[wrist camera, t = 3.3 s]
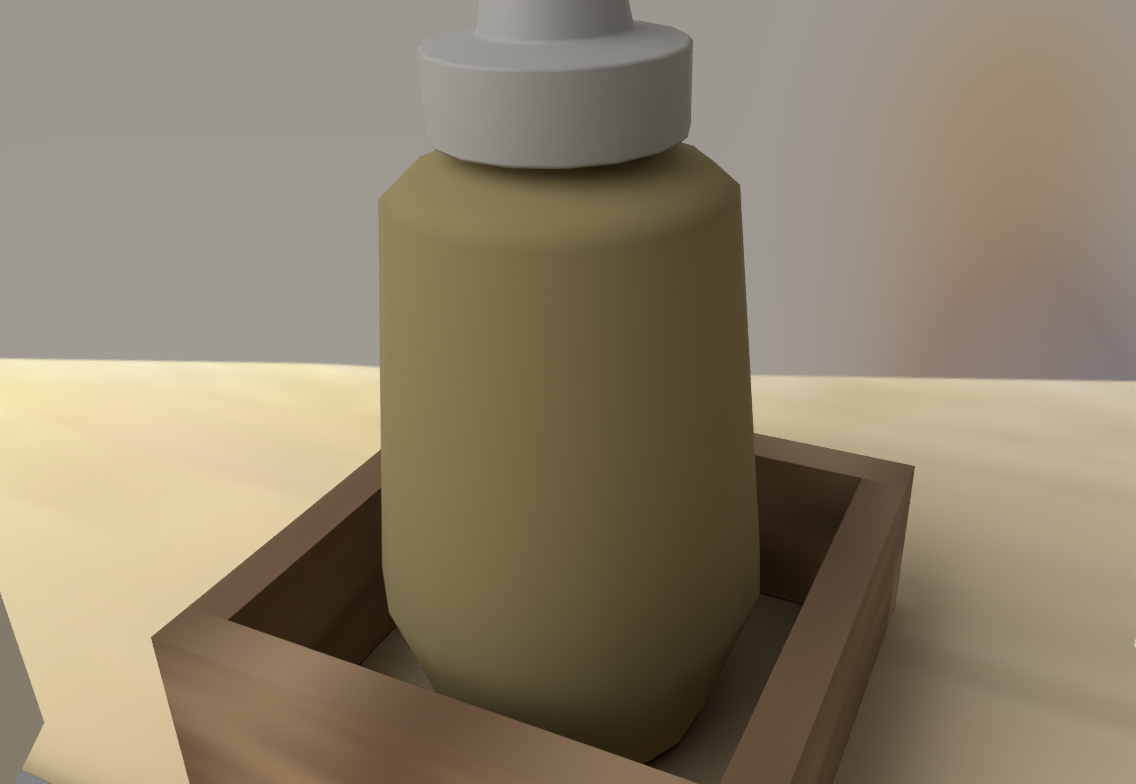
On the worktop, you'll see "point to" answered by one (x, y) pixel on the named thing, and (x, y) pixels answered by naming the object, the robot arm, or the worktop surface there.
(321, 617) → the holder
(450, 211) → the squeeze bottle
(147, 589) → the worktop surface
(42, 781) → the mat
